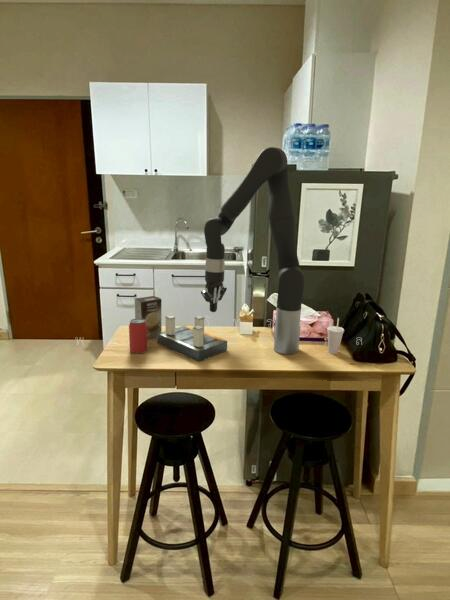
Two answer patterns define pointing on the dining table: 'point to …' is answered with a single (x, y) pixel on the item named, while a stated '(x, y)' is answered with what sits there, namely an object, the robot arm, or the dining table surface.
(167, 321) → the handle
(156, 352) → the dining table surface
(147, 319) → the coffee box
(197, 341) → the handle
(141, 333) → the beer can
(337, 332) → the smoothie
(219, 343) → the panel
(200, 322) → the handle
